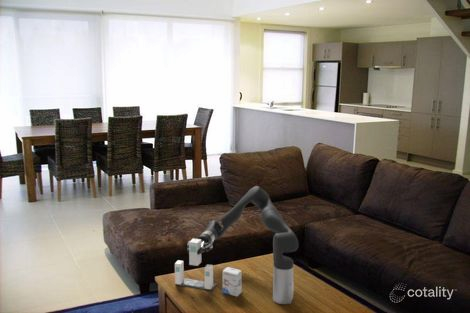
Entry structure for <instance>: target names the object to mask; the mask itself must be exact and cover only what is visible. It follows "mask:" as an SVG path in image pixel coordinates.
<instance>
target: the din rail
mask: <svg viewBox="0 0 470 313" xmlns="http://www.w3.org/2000/svg"><path fill="white" fill-rule="evenodd" d="M174 284H175V283H174ZM175 285H176V286H182V287H188V288H196V289H200V290H201V289H202V290H207V291H213V290H214V289H215V288H216V286H217V283H216V282H213V287H212V288H211V289H205V280H198V279H191V278H185V277H184V282H183V283H182V284H181V285H180V284H175Z"/></svg>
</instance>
